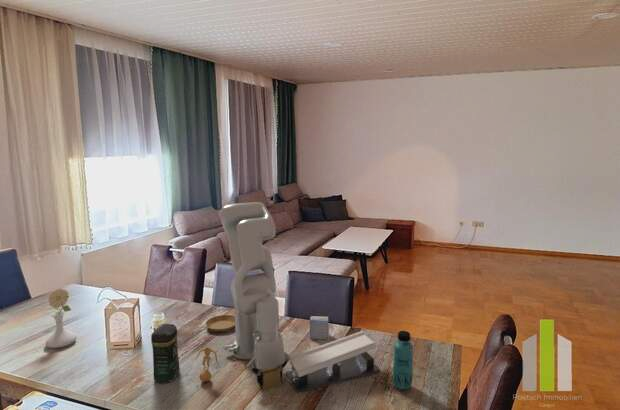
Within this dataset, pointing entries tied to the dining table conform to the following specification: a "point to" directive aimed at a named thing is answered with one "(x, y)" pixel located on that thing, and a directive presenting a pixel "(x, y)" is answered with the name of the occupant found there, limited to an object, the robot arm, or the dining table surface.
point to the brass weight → (271, 378)
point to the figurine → (206, 374)
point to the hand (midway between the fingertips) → (269, 381)
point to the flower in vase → (60, 320)
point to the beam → (331, 353)
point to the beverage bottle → (403, 361)
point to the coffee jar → (165, 353)
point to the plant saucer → (221, 323)
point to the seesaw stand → (334, 373)
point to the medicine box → (319, 327)
